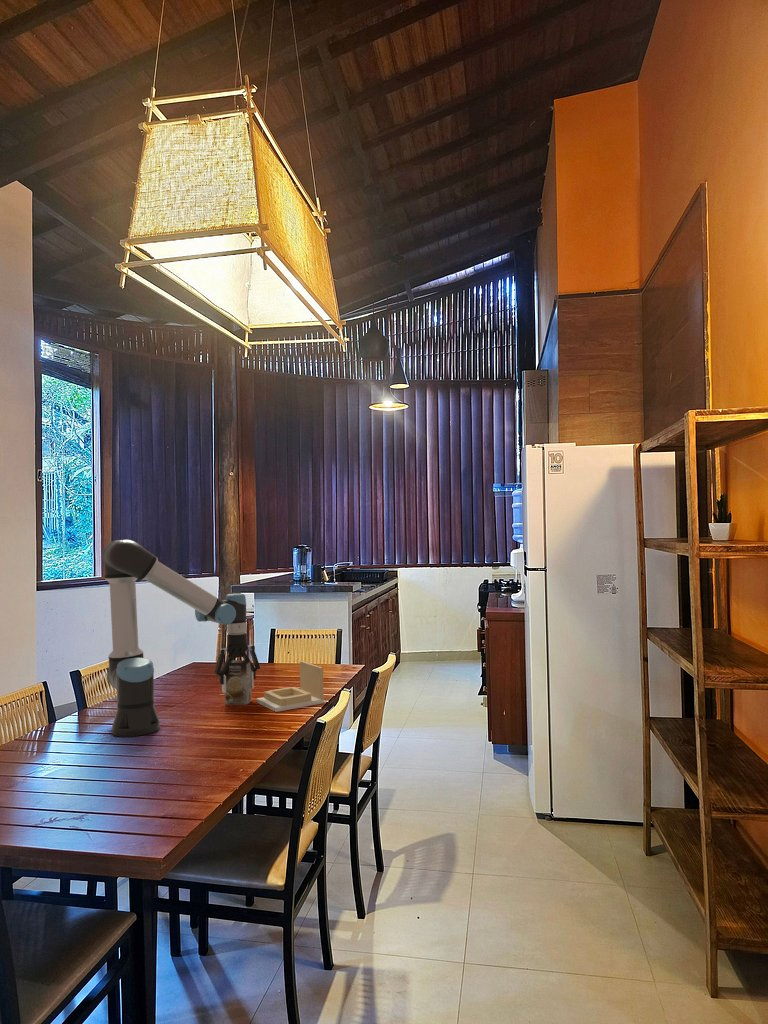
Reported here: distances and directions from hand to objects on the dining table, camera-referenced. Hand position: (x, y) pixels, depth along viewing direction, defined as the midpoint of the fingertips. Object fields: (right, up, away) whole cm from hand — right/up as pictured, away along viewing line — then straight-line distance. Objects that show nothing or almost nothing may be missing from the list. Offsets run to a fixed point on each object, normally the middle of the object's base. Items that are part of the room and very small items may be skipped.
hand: (238, 690), depth 253 cm
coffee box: (0, -5, 0) cm, 5 cm away
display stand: (+20, -4, -3) cm, 20 cm away
